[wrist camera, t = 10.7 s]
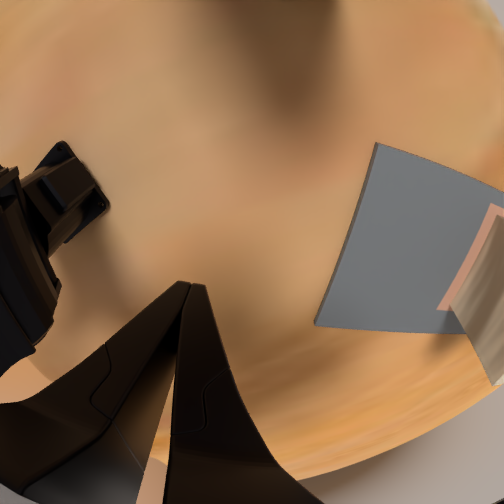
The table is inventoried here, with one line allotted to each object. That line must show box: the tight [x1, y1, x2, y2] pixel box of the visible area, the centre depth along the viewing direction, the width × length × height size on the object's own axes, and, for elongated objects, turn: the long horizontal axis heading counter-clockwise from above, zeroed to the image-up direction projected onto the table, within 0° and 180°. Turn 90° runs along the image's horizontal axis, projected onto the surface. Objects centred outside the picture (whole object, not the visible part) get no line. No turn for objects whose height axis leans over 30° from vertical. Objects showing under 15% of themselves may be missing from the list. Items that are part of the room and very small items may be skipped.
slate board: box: [314, 142, 504, 334], centre depth 22 cm, size 24×16×1 cm, turn 81°
